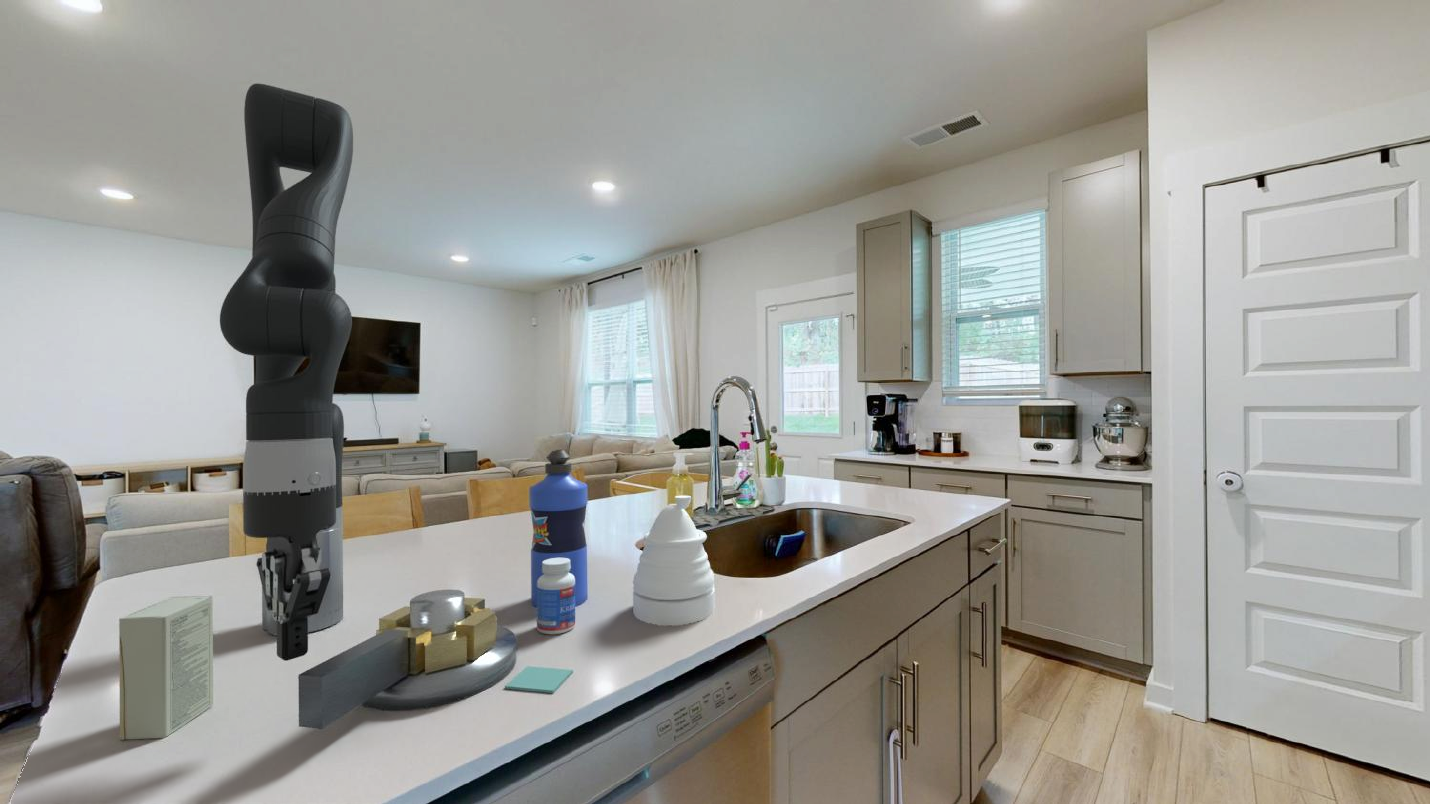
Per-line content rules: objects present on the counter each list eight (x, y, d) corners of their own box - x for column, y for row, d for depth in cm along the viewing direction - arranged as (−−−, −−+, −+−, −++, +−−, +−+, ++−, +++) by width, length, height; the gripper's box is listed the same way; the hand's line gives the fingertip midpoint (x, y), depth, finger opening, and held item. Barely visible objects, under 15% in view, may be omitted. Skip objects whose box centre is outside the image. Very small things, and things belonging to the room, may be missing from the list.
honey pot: (730, 604, 91) (728, 493, 91) (683, 632, 80) (682, 505, 80) (666, 591, 98) (665, 487, 98) (615, 615, 87) (614, 498, 87)
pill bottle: (565, 637, 79) (564, 567, 79) (529, 634, 80) (529, 565, 80) (581, 622, 84) (581, 556, 85) (548, 619, 86) (548, 555, 86)
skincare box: (172, 708, 61) (171, 596, 61) (216, 706, 62) (215, 594, 62) (116, 742, 55) (115, 617, 55) (165, 739, 55) (164, 615, 56)
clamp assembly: (428, 624, 77) (428, 589, 77) (514, 631, 74) (513, 594, 74) (253, 721, 53) (253, 670, 53) (370, 735, 51) (369, 681, 51)
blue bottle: (546, 615, 87) (544, 453, 88) (520, 600, 94) (519, 450, 95) (599, 600, 94) (597, 449, 94) (571, 587, 101) (570, 447, 101)
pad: (504, 688, 65) (504, 686, 65) (527, 668, 70) (527, 666, 70) (553, 693, 63) (553, 690, 63) (572, 672, 68) (572, 670, 68)
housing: (310, 702, 62) (310, 620, 62) (425, 636, 80) (424, 572, 80) (456, 718, 59) (455, 631, 59) (542, 645, 76) (541, 578, 76)
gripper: (224, 484, 58) (225, 654, 58) (267, 493, 50) (269, 689, 50) (309, 477, 64) (310, 630, 64) (360, 483, 56) (362, 658, 56)
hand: (292, 656), depth 57 cm, fingers closed
